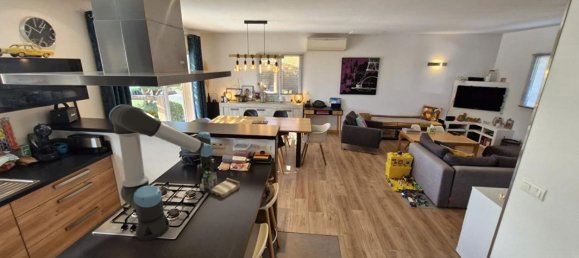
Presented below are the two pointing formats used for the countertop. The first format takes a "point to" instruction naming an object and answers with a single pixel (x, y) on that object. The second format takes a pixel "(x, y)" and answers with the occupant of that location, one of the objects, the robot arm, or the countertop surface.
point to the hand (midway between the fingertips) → (208, 184)
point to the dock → (225, 188)
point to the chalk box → (208, 181)
